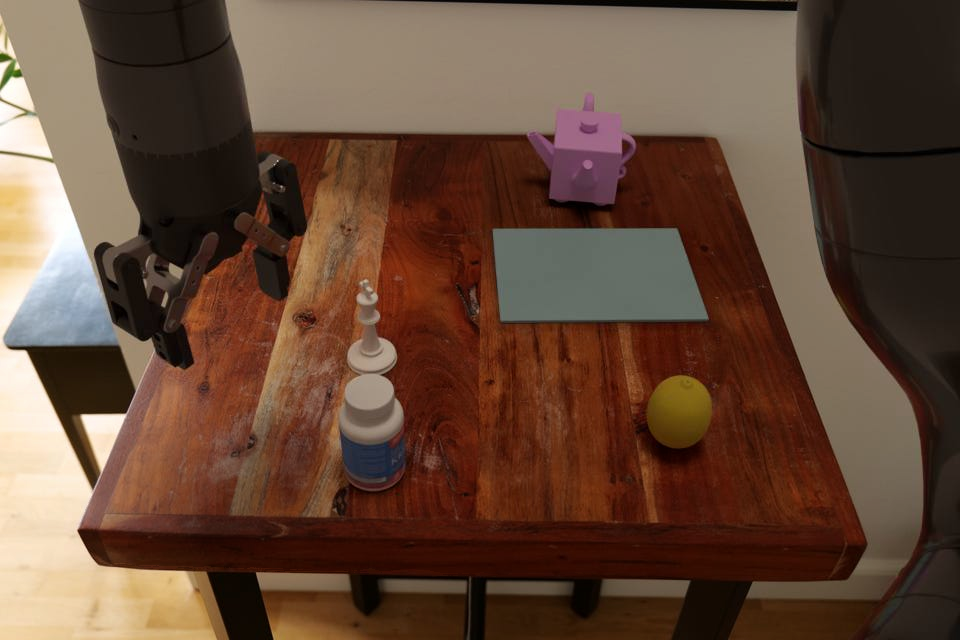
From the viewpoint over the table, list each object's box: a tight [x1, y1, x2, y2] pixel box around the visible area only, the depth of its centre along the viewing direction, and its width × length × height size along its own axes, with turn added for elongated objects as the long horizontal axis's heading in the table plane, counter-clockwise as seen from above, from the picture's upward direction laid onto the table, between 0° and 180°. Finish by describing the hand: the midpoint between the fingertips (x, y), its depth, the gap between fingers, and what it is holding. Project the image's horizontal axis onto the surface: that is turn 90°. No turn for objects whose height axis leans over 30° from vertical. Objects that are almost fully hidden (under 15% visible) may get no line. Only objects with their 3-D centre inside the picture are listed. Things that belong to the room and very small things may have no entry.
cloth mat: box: [491, 227, 710, 324], centre depth 95 cm, size 16×22×1 cm
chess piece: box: [346, 278, 398, 376], centre depth 81 cm, size 5×5×10 cm
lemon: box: [646, 374, 713, 450], centre depth 75 cm, size 6×6×8 cm
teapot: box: [526, 92, 637, 207], centre depth 105 cm, size 18×13×10 cm
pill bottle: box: [337, 374, 407, 492], centre depth 72 cm, size 6×5×10 cm
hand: (229, 326), depth 59 cm, fingers open, 8 cm apart
